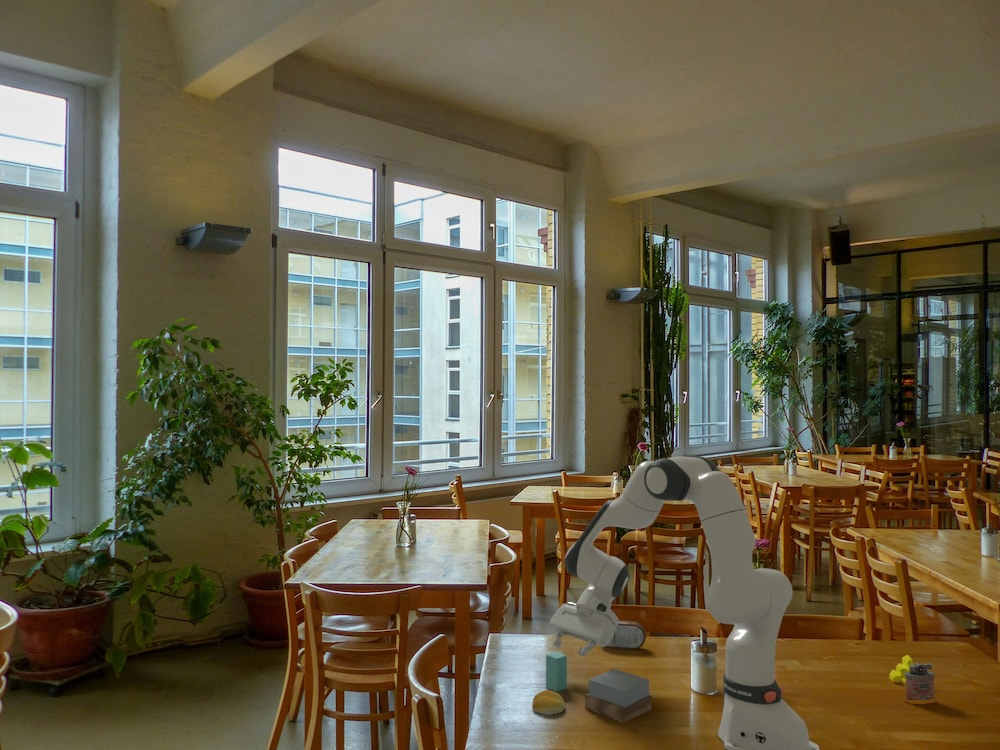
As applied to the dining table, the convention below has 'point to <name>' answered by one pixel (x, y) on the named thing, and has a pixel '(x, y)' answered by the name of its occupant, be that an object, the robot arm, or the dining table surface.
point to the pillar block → (556, 671)
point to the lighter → (920, 682)
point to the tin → (628, 635)
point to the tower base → (618, 708)
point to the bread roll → (548, 703)
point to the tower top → (619, 687)
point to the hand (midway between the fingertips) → (568, 650)
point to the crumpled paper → (901, 669)
